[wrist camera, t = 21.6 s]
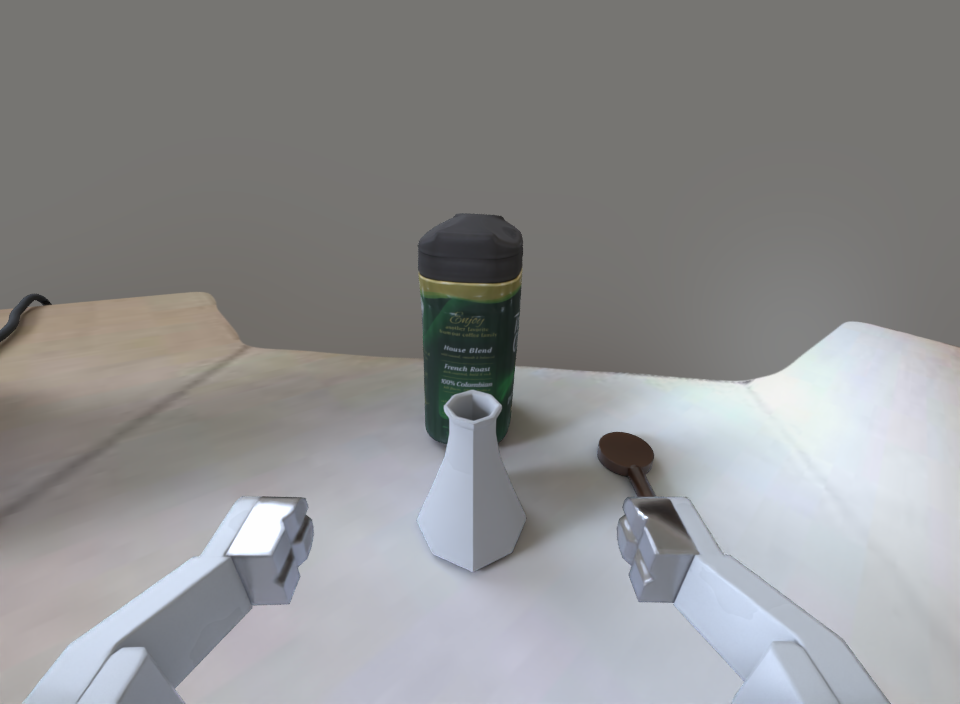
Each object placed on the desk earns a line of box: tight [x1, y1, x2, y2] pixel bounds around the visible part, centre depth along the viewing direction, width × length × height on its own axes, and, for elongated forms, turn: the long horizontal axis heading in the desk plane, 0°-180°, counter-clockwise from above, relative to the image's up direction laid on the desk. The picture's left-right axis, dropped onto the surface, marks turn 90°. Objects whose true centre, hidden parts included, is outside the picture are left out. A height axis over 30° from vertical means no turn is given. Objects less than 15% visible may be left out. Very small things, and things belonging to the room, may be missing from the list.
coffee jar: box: [418, 214, 523, 444], centre depth 34 cm, size 10×8×19 cm
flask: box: [416, 390, 527, 572], centre depth 26 cm, size 7×7×10 cm
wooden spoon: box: [597, 432, 656, 497], centre depth 29 cm, size 14×4×1 cm, turn 1°
